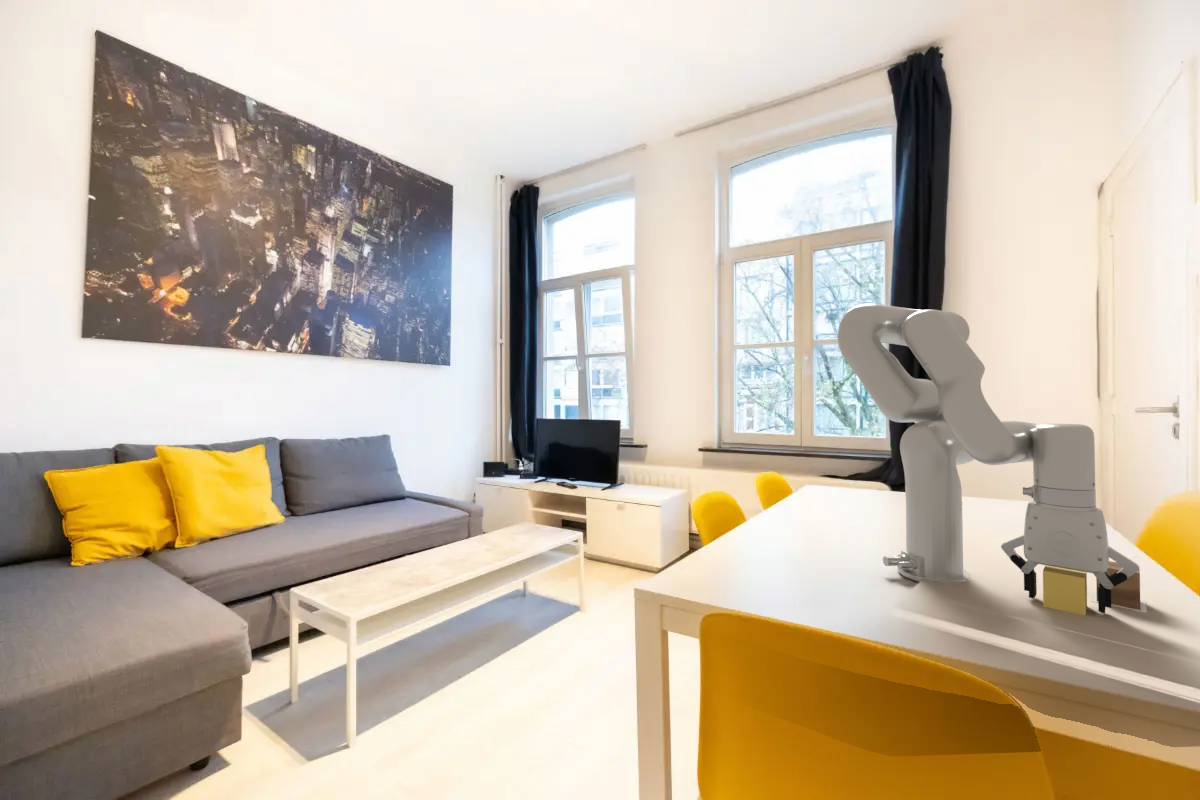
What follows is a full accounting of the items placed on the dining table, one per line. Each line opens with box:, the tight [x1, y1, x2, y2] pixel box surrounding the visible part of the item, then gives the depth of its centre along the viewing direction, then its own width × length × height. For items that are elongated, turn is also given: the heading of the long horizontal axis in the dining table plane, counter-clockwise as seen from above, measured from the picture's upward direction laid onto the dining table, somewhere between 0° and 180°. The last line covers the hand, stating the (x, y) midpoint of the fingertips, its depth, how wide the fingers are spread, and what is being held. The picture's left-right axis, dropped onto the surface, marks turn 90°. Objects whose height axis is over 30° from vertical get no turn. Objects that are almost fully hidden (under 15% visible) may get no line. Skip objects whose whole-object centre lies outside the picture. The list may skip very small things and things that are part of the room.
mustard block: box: [1042, 565, 1088, 616], centre depth 82 cm, size 5×5×6 cm
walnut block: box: [1095, 560, 1141, 610], centre depth 83 cm, size 5×5×6 cm
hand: (1066, 602), depth 82 cm, fingers open, 7 cm apart
